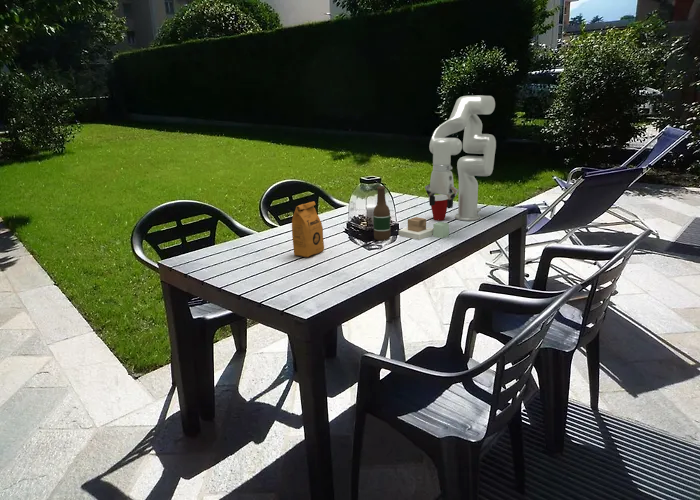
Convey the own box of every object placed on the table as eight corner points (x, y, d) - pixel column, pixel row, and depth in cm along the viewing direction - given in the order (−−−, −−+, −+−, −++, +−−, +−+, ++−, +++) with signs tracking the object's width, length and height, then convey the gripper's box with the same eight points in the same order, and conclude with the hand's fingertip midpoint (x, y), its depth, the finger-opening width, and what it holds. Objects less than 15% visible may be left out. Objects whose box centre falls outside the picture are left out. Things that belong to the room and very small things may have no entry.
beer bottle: (384, 241, 228) (383, 188, 221) (370, 239, 232) (368, 187, 225) (394, 237, 234) (393, 185, 226) (380, 235, 238) (378, 184, 231)
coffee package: (328, 252, 217) (325, 201, 210) (307, 259, 208) (303, 207, 202) (311, 248, 223) (308, 199, 217) (290, 255, 214) (286, 204, 208)
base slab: (415, 230, 244) (415, 225, 243) (435, 234, 236) (435, 228, 235) (398, 235, 236) (398, 230, 235) (419, 240, 228) (419, 234, 227)
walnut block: (415, 227, 239) (415, 216, 238) (426, 229, 235) (426, 218, 234) (407, 230, 235) (407, 219, 234) (418, 232, 231) (417, 221, 230)
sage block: (439, 234, 236) (440, 221, 234) (448, 236, 232) (449, 223, 230) (433, 236, 232) (433, 223, 231) (442, 238, 229) (442, 225, 227)
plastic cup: (424, 218, 264) (424, 196, 260) (441, 215, 268) (441, 193, 264) (435, 223, 254) (436, 199, 251) (453, 220, 259) (454, 197, 255)
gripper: (463, 168, 219) (462, 207, 224) (431, 166, 231) (430, 203, 236) (453, 170, 214) (452, 210, 219) (420, 167, 226) (420, 205, 231)
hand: (440, 206), depth 228 cm, fingers open, 9 cm apart
